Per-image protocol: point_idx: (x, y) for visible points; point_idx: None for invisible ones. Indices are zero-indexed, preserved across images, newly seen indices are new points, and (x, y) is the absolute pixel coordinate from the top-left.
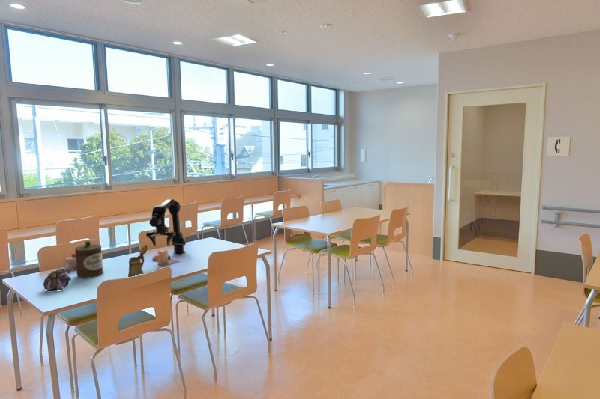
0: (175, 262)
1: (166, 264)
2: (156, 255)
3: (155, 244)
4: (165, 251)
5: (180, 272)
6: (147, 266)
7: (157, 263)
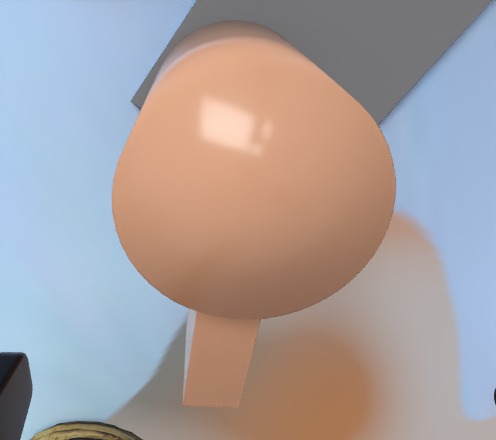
0: (429, 57)
1: None
2: (205, 401)
3: (2, 424)
4: (353, 261)
5: (490, 394)
6: (42, 220)
7: (136, 102)
